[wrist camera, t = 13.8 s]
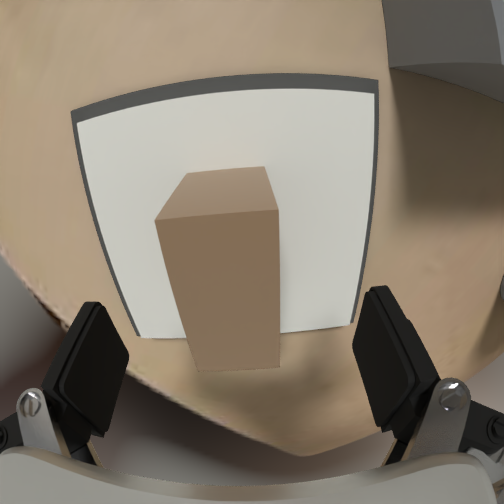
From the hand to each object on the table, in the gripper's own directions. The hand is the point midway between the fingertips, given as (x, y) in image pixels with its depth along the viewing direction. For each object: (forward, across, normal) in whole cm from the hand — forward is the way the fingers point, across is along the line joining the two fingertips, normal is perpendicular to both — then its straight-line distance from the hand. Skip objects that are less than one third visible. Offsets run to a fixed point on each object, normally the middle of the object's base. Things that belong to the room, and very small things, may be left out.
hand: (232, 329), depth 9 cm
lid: (+8, 0, 0) cm, 9 cm away
